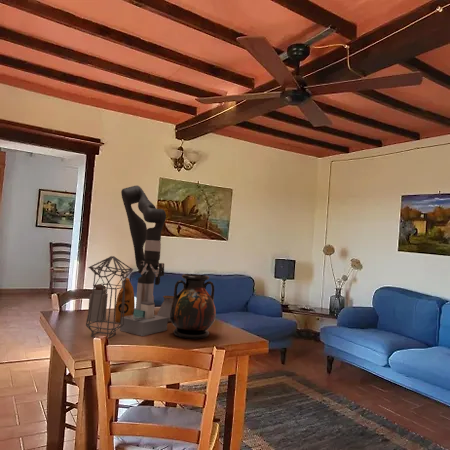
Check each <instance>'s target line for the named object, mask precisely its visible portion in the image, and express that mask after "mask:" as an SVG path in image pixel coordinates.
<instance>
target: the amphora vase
mask: <svg viewBox="0 0 450 450" xmlns="http://www.w3.org/2000/svg"><path fill="white" fill-rule="evenodd" d="M181 277H182V279H184V280H185V281H184V280H181V279H179V280H177V281H176V282H175V284H174V288H173V289H174V290H173V296H174V299H173V303H172V304H171V308H170V319H171V322H170V323H171V324H172V325H173V326H174V328H175V329H173V334H174V335H175V336H176V337H179V338H180V339H181V338H183V339H187V340H200V339H204V338H207V337H208V336H209V335H210V332H209V329H210V328H211V327H212V325H213V324H214V323H215V321H216V318H217V317H216V316H217V312H216V311H217V310H216V306H215V302H214V300H215V299H214V298H215V285H214V283H213V282H212V281H210V280H209V279H210V276H209V275H206V274H199V273H198V274H196V273H195V274H194V273H184V274H182V275H181ZM208 280H209V281H208ZM179 284H182V285H183V288H182V289H181V290H180V291H179V292H178V287H179ZM208 285H210V287H211V288H210V289H211V293H210V294H209V292H208V291H207V287H208Z"/></svg>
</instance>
